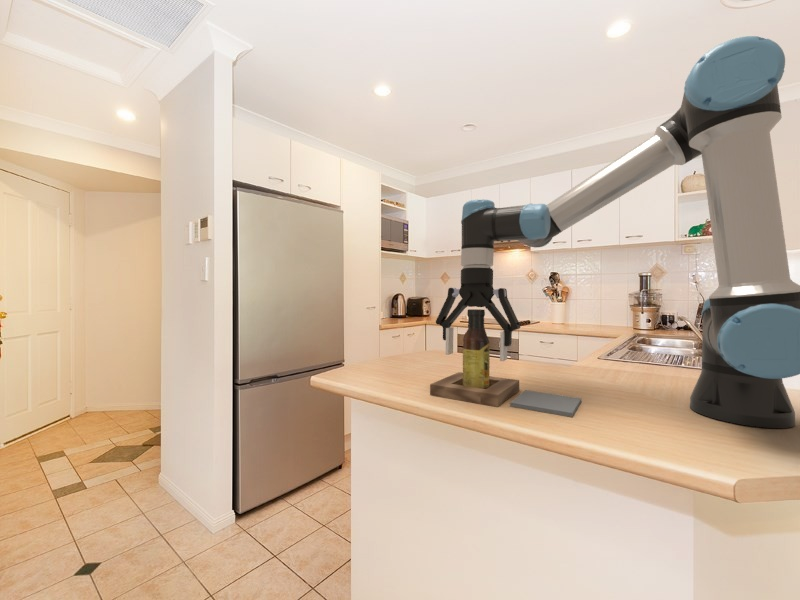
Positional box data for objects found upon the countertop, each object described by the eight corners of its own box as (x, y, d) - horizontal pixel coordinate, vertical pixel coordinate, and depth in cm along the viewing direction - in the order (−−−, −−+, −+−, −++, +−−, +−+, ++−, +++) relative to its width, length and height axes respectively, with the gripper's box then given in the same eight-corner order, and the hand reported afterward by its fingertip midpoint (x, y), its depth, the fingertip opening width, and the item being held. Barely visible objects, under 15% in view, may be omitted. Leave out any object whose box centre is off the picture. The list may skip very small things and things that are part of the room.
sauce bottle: (490, 397, 84) (491, 310, 84) (462, 395, 85) (463, 309, 85) (488, 389, 91) (488, 308, 90) (462, 388, 92) (463, 308, 91)
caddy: (519, 390, 90) (519, 380, 90) (497, 407, 77) (497, 395, 77) (458, 381, 99) (459, 372, 99) (430, 394, 86) (430, 384, 86)
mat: (581, 401, 81) (581, 398, 81) (572, 417, 71) (572, 413, 71) (525, 393, 87) (525, 390, 87) (510, 406, 77) (510, 402, 77)
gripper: (535, 267, 84) (533, 360, 84) (437, 269, 97) (436, 349, 98) (526, 265, 77) (524, 366, 78) (423, 267, 91) (421, 353, 92)
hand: (475, 357), depth 88 cm, fingers open, 13 cm apart
